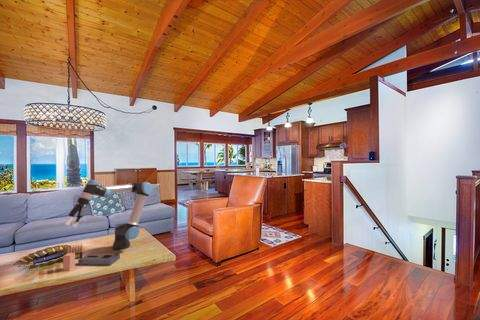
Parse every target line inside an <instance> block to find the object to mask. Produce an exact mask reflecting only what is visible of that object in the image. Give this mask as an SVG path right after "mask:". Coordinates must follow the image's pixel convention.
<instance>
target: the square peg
mask: <svg viewBox="0 0 480 320" xmlns="http://www.w3.org/2000/svg"><path fill="white" fill-rule="evenodd" d="M62 259H63V262H62V263H63V265H62V271H69V272H70V271H71V270H73V269H75V268H76V259H75V253H70V252H69V253H68V254H67V253H66V254H63V258H62Z"/></svg>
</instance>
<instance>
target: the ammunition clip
mask: <svg viewBox="0 0 480 320" xmlns="http://www.w3.org/2000/svg"><path fill="white" fill-rule="evenodd" d="M68 253H75V260H79V259H81V258H82V257H83V244H82V243H80V244H78V245H77V244H75V245H74V244H73V246H72V245H70V246H69V245H67V250H66V254H68Z"/></svg>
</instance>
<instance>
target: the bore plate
mask: <svg viewBox="0 0 480 320" xmlns="http://www.w3.org/2000/svg"><path fill="white" fill-rule="evenodd" d="M119 259H121V254H120V253H109V252H108V253H100V252H99V253H96V252H95V253H93V252H91V253H87V254H86V255H85V256H82V258H80V259H77V265H78V266H112V265H113V264H114V263H116V262H117V261H118V260H119Z"/></svg>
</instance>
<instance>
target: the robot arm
mask: <svg viewBox="0 0 480 320" xmlns="http://www.w3.org/2000/svg"><path fill="white" fill-rule="evenodd" d="M99 184H100V182H99V181H97V180H94V179H89V180H88V181H87V182H86V184H85V186H84V188H83V190H82V192H81V193H80V196H79V197H78V199H77V203H76V204H75V205H74V207H73V208H72V209H71V210H70V212H69V213H68V217H67V219H66V221H65V222H64V225H66V226H70V224H71V222H72V220H73V219H74V217H75V215H76V214H77V215H76V217H75V220H73V223H72V225H71V227H74V228H76V227H77V226H78V224H79V222H80V220H81V219H82V218H84V215H85V212H86V208H87V205H89V203H90V200H91V199H92V197H93V196H97V197H101V198H104V199H107V198H108V197H110V195H112V194H119V193H130V194H131V193H134V194H135V196H136V198H135V201H134V204H133V207H132V210H131V211H130V212H131V213H130V216H129V219H128V221H123V222H118V223H116V224H115V225H114V241H113V244H112V250H113V251H115V250H116V251H119V250H120V251H121V250H126V249H128V248H130V247H131V242H130V240H134V239H136V238H137V237H138V236H139V234H140V228H139V227H140V225H139V221H140V218H141V216H142V212H143V208H144V205H145V203H146V200H147V198H149V195H151V194H152V193H153V190H154V186H153V184H151V183H150V182H148V181H147V182H146V181H137V182H129V183H127V184H114V185H113V184H112V185H111V184H110V185H99ZM125 248H126V249H125Z"/></svg>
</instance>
